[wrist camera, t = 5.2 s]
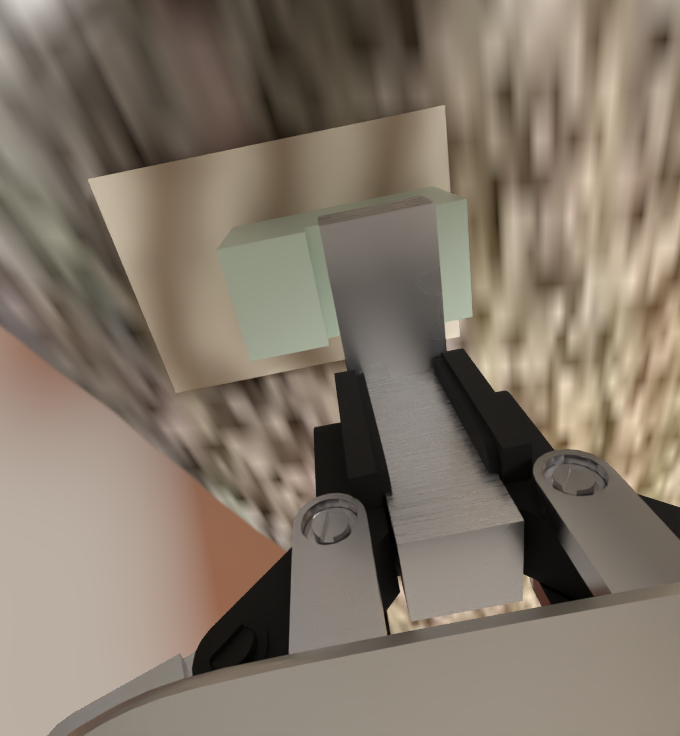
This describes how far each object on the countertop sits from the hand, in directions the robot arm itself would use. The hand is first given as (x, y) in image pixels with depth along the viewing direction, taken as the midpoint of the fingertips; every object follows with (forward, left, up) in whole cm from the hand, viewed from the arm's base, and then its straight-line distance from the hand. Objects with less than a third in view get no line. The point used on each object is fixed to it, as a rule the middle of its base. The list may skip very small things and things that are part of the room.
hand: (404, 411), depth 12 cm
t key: (0, 0, -1) cm, 1 cm away
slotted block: (0, 0, -18) cm, 18 cm away
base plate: (+3, 0, -20) cm, 20 cm away
